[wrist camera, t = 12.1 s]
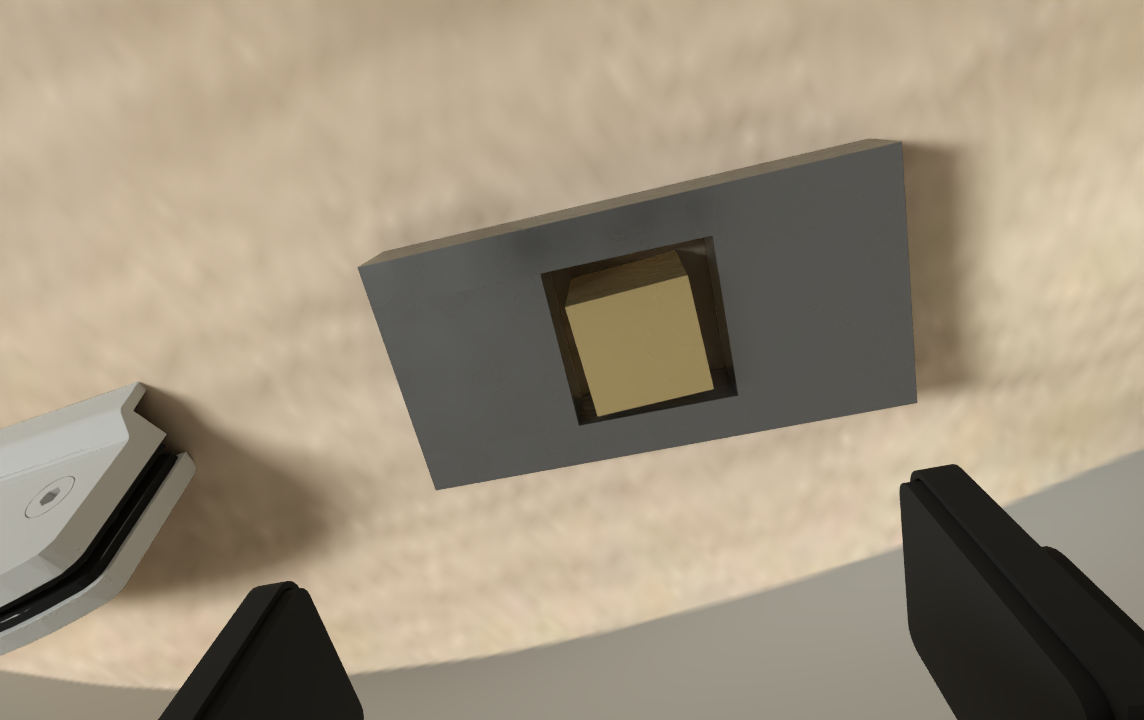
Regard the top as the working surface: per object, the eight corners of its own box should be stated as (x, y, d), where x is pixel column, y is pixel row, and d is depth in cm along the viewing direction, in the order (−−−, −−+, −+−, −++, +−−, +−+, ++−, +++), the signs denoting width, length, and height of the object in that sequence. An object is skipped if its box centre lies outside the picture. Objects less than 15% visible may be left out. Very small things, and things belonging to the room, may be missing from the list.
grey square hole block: (382, 251, 28) (357, 267, 25) (868, 138, 25) (901, 141, 22) (451, 456, 31) (435, 490, 28) (886, 374, 28) (917, 402, 26)
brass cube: (571, 278, 28) (564, 307, 24) (675, 250, 27) (687, 275, 23) (599, 372, 29) (597, 416, 25) (698, 348, 29) (714, 389, 24)
